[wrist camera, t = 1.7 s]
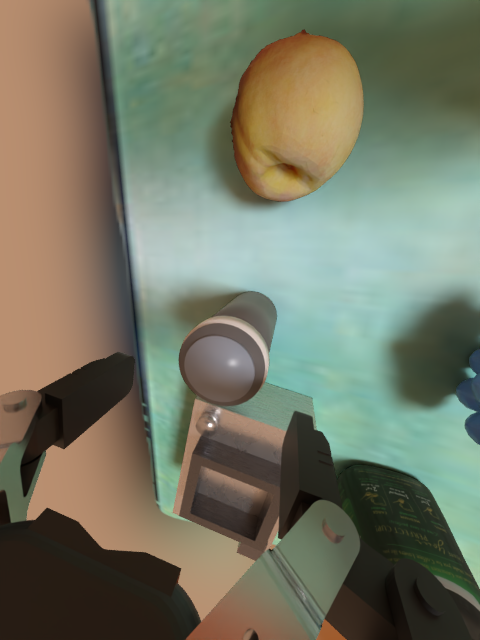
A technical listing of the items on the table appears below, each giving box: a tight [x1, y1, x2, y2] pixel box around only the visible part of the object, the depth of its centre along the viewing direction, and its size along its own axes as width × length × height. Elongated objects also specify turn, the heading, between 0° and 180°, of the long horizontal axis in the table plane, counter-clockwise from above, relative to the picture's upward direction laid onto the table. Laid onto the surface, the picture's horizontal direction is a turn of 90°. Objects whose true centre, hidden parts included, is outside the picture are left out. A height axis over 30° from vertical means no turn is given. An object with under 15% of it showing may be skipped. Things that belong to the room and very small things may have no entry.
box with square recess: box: [173, 383, 317, 561], centre depth 24 cm, size 16×11×8 cm
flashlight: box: [179, 291, 277, 406], centre depth 18 cm, size 5×5×11 cm
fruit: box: [230, 29, 364, 201], centre depth 15 cm, size 8×8×8 cm
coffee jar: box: [337, 465, 480, 640], centre depth 17 cm, size 10×8×19 cm
